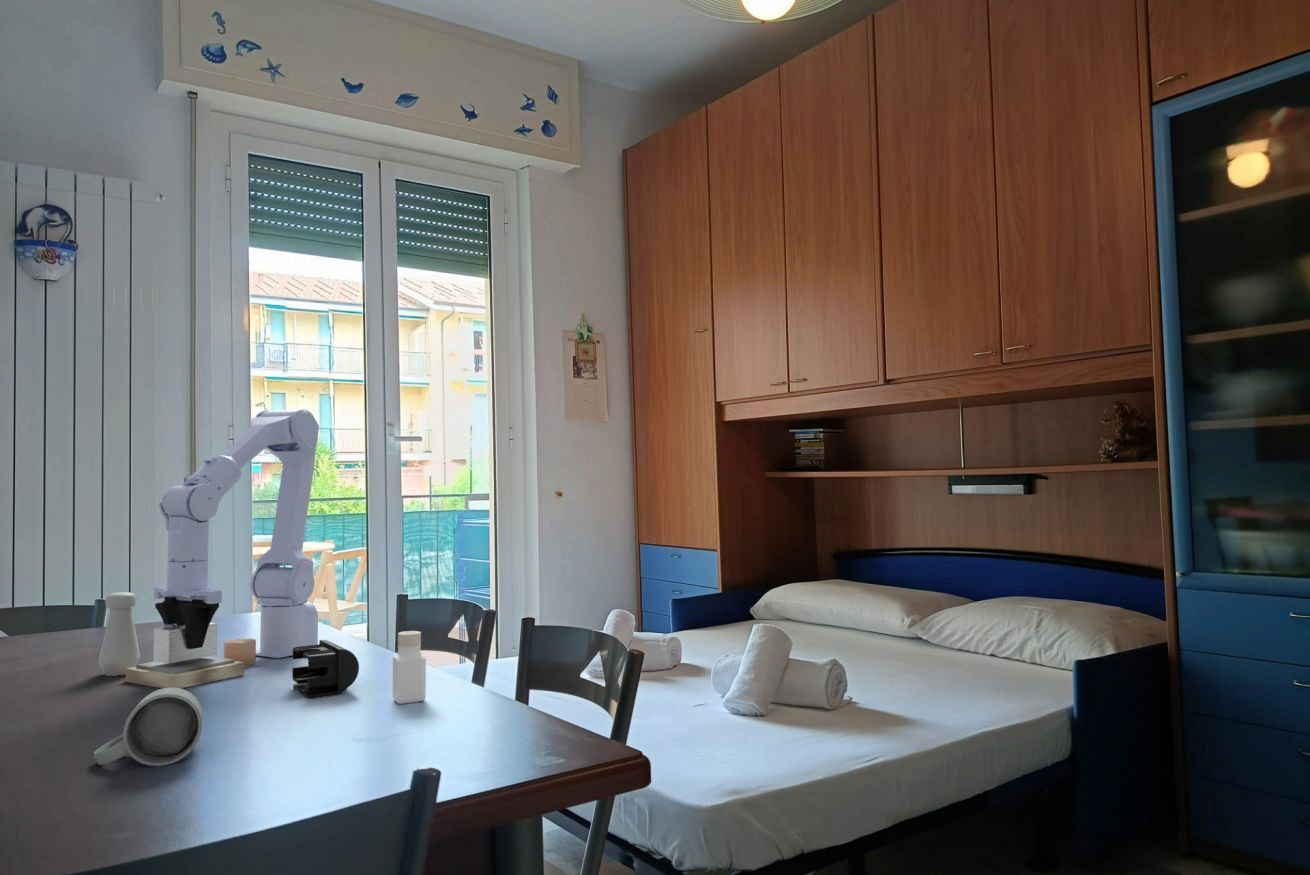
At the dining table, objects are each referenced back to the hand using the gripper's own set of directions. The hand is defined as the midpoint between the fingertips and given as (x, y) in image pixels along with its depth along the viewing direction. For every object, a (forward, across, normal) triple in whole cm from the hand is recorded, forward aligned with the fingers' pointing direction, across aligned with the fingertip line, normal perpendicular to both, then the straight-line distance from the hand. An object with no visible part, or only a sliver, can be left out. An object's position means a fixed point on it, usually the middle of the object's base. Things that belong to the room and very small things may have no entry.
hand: (186, 646), depth 143 cm
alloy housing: (+2, 0, 0) cm, 2 cm away
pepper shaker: (+5, +42, +6) cm, 43 cm away
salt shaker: (+5, -13, -3) cm, 14 cm away
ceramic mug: (+5, +36, -28) cm, 46 cm away
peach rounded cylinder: (+5, -2, +11) cm, 12 cm away
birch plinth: (+5, 0, 0) cm, 5 cm away
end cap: (+5, +26, +5) cm, 27 cm away
